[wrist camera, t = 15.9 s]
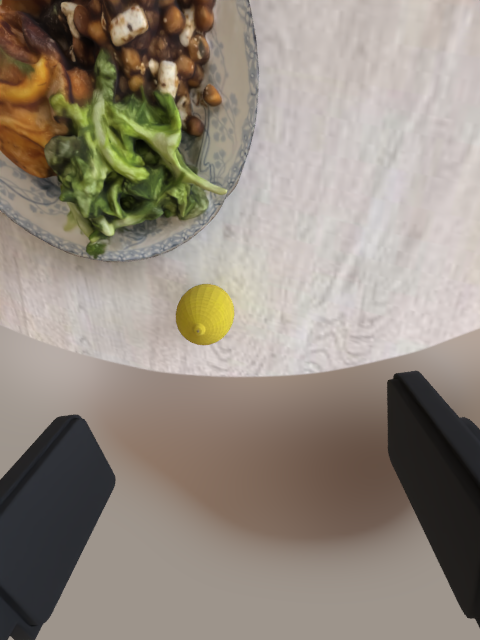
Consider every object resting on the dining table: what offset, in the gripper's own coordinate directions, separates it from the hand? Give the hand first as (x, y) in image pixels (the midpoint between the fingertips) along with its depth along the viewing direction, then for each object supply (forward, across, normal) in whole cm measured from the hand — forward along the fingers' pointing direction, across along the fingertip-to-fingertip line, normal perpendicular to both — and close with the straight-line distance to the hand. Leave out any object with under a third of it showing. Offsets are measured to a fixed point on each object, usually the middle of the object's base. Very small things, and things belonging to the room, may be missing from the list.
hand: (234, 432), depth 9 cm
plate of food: (+24, +10, -17) cm, 31 cm away
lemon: (+23, +5, +3) cm, 24 cm away
